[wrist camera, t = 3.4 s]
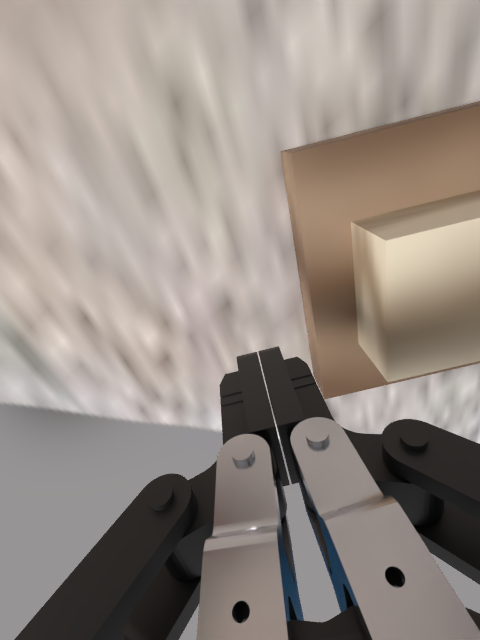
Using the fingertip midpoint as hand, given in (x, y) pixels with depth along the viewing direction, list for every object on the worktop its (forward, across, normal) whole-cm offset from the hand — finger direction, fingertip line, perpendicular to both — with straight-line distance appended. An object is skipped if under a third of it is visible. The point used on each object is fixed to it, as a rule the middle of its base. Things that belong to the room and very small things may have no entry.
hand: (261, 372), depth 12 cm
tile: (+4, -9, 0) cm, 10 cm away
